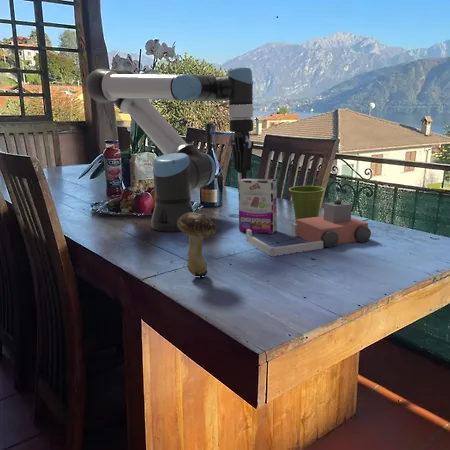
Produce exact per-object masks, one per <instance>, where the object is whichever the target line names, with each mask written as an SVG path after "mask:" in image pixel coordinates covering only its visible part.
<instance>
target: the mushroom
mask: <svg viewBox="0 0 450 450" xmlns="http://www.w3.org/2000/svg"><path fill="white" fill-rule="evenodd" d="M177 226H178V228H179V229H180V230H181V231H180V232H182V233H184V234H186V235H188V250H187V254H186V256H187V265H186V266H187V269H188V271H189V273H191V274H192V276H194V277H195V276H200V277H202V276H205V275H207V274H208V264H207V262H206V259H205V257H204V255H203V240H204V239H211V238H212V237H214V236H215V234H216V232H217V226H216V224H215V223H214V221H213V220H212V219H211V218H210V217H209V216H207V215H206V214H204V213H200V212H195V211H194V212H190V213H186V214H184V215H182V216H181V217H180V218H179V219H178V221H177Z"/></svg>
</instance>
